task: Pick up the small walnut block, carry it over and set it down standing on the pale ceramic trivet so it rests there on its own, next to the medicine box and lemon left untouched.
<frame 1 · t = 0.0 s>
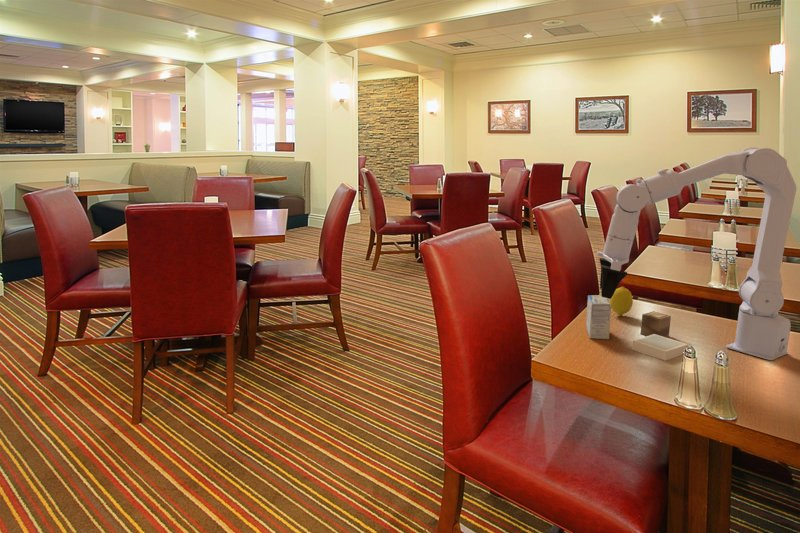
hand: (605, 293, 133), 11 cm above the table, tool pointing down, fingers open, 7 cm apart
lemon: (620, 316, 151), on the table
walnut block: (654, 335, 136), on the table
medicine box: (596, 334, 137), on the table
trivet: (658, 353, 126), on the table
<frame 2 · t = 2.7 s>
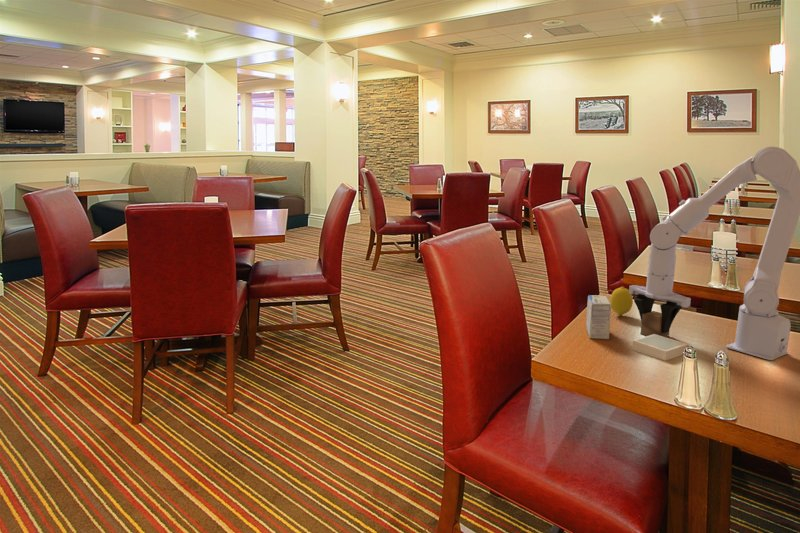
hand: (655, 329, 136), 1 cm above the table, tool pointing down, fingers closed on walnut block, 4 cm apart
walnut block: (654, 334, 136), on the table, touching gripper
everything else where it was.
when the fingers open (5 cm above the table, at t = 5.4 s): walnut block drops 1 cm, resting on trivet.
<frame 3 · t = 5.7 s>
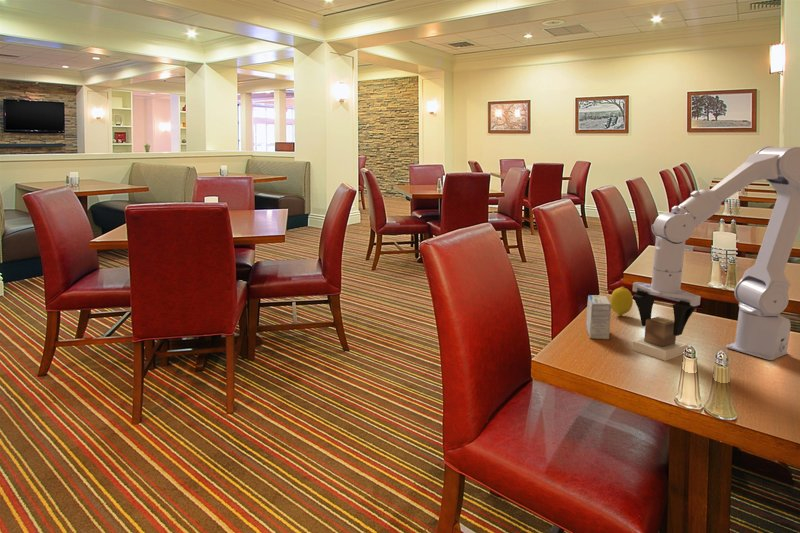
hand: (661, 329, 125), 5 cm above the table, tool pointing down, fingers open, 7 cm apart
walnut block: (659, 342, 125), point 2 cm above the table, touching trivet
trivet: (658, 353, 126), on the table, touching walnut block
everything else where it was.
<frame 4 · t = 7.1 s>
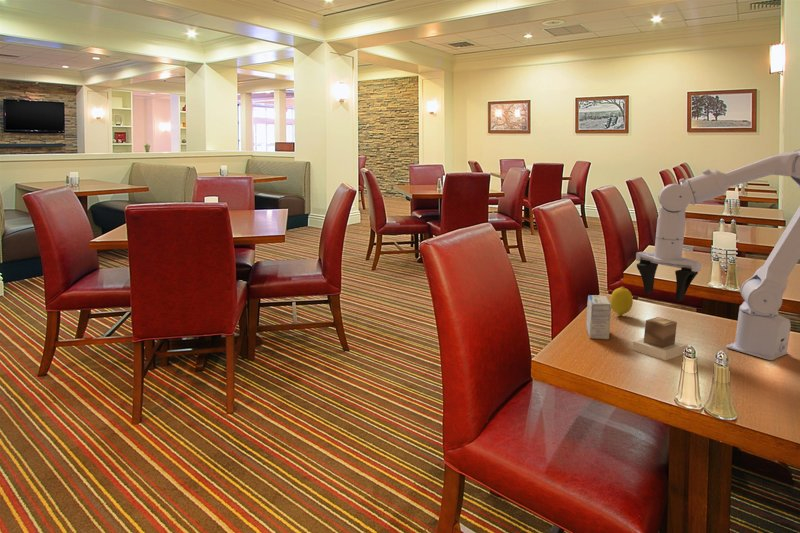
hand: (663, 296, 131), 10 cm above the table, tool pointing down, fingers open, 7 cm apart
nothing on the table moved.
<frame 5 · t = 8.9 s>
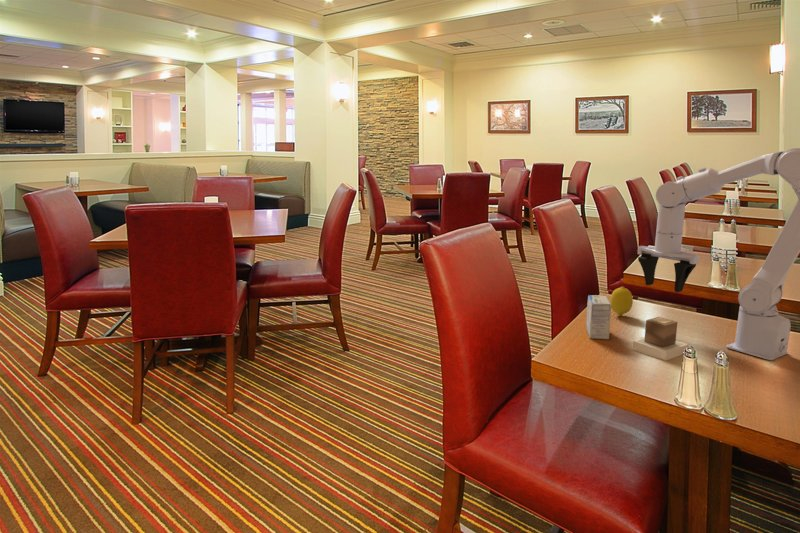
hand: (663, 287, 138), 10 cm above the table, tool pointing down, fingers open, 7 cm apart
nothing on the table moved.
at the end: walnut block inside the target area on the trivet (0.2 cm from its centre), point 2.6 cm above the trivet's base; walnut block tilted 1°; the gripper is holding nothing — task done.
